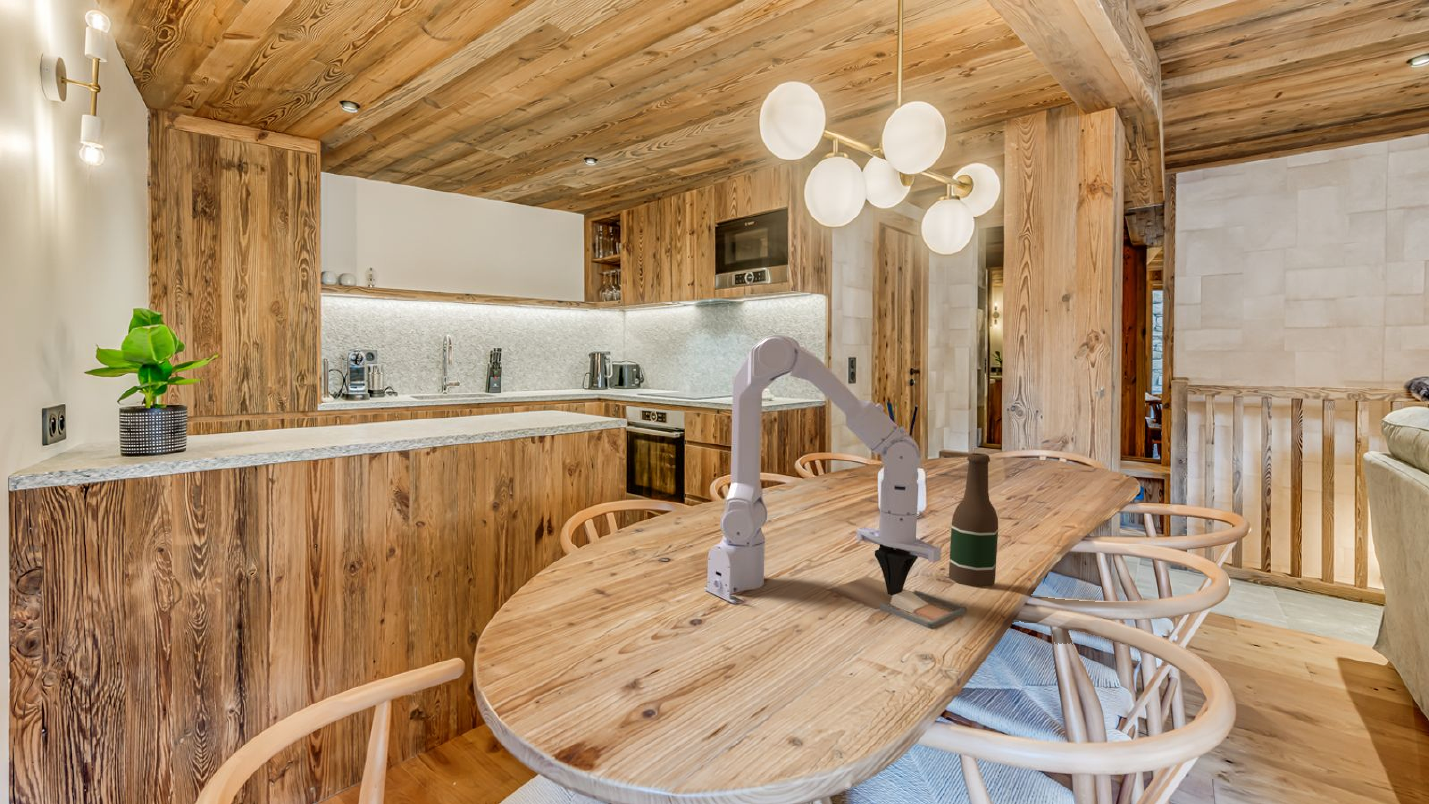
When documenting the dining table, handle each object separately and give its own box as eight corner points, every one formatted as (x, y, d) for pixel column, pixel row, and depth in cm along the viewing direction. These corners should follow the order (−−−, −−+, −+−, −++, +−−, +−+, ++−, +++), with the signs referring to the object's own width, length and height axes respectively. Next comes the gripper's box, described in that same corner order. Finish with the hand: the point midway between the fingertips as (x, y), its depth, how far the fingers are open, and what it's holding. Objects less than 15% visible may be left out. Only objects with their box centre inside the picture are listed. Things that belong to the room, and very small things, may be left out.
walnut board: (875, 618, 100) (875, 608, 100) (826, 598, 108) (826, 589, 108) (916, 602, 107) (916, 593, 107) (867, 584, 115) (867, 576, 114)
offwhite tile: (911, 618, 99) (913, 609, 98) (890, 603, 102) (892, 595, 101) (925, 611, 101) (928, 603, 101) (904, 597, 104) (907, 589, 104)
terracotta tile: (937, 629, 96) (937, 619, 96) (913, 620, 99) (914, 610, 99) (951, 622, 98) (952, 612, 98) (928, 613, 101) (928, 604, 101)
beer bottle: (999, 598, 110) (1008, 458, 108) (951, 593, 111) (959, 456, 109) (989, 582, 117) (997, 452, 115) (944, 578, 119) (951, 449, 117)
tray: (930, 638, 93) (930, 623, 93) (878, 617, 100) (879, 604, 100) (966, 621, 99) (967, 607, 99) (915, 603, 106) (916, 590, 106)
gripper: (953, 516, 99) (949, 602, 101) (876, 499, 111) (872, 576, 112) (928, 523, 95) (923, 613, 96) (850, 504, 106) (846, 584, 107)
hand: (894, 593), depth 104 cm, fingers closed
